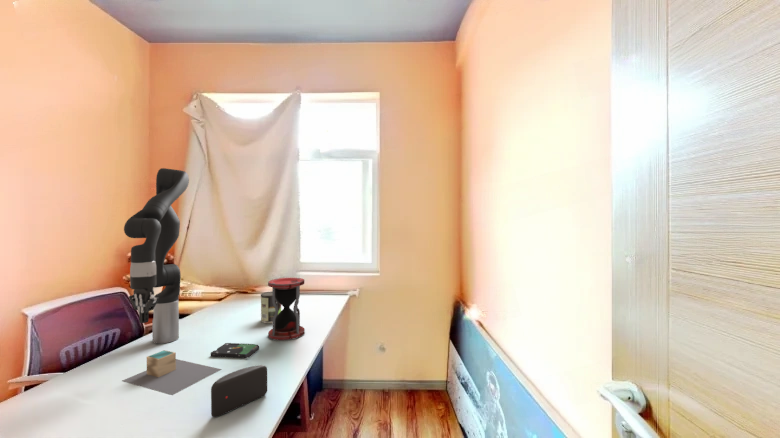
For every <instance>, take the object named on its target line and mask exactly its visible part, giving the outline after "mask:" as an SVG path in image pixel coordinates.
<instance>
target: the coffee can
mask: <svg viewBox="0 0 780 438" xmlns="http://www.w3.org/2000/svg"><path fill="white" fill-rule="evenodd" d="M275 303H276V305H277V302H276V299H275ZM281 311H282V305H281V304H280V309H279V311H278V314H279V313H280V312H281ZM274 315H275V307H274V306H273V303H272V291H266V292H262V293H260V321H261V323H263V324H273V316H274Z"/></svg>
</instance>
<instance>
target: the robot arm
mask: <svg viewBox="0 0 780 438" xmlns="http://www.w3.org/2000/svg"><path fill="white" fill-rule="evenodd" d="M189 182H190V178H189V174H188V172H186V171H185V170H180V169H175V168H174V169H173V168H172V169H171V168H165V167H162V168H159V170H157V174H156V178H155V184H156V185H155V191H156V192H155V195H154V196H152V197H151V198H149V199H148V200H147V202H146V204H145V205H144V206H143V207H142V209H141V210H139V211H137V212H136V213H134V214H133V215H132V216H130V217H129V218H128V220H126V222H125V223H124V226H123V232H124V234H125V236H127V237H128V238H131V239H145V240H144V243H142V244H137V245H133V246H131V248H130V268H129V271H130V272H129V274H130V275H129V276H130V277H129V279H130V280H129V281H130V283H129V284H130V289H131V290H133V294H131V295H129V296H128V299H129V302H130V303H131V306H132V307H133V310H134V311H137V312H138V317H139V319H138V321H139V323H140V324H146V323H148V322H149V319H150V318H149V317H150V316H149V313H150V311H153V318H152V326H151V327H152V341H153V343H154V344H167V343H172V342H174V341H177V340H178V339H179V338H180V336H179V334H180V332H179V331H180V323H179V322H180V321H179V319H180V318H179V317H180V310H179V309H180V308H179V296H180V292H181V276H182V275H181V270H180V267H179V266H178V265H177V264H175V263H170V264H169V263H168V264H165V259H166V256H167V255H168V253H169V252H170V250H171V249H172V247H173V246H174V245H175V243H176V242H177V241H178V238H179V236H180V231H181V230H180V227H181V220H180V217H179V216H178V214H177V213H176V210H175V209H174V208H173V207H172V204H173V203H175V202H176V201H177V200H178V199H179V198H180V197H181V196H182V195H183V194H184V192H185V191H186V190H187V188H188V187H189ZM162 287H164V289H162V290H161V291H160V292H158V293H156V294H155V291H154V289H155V288H162Z"/></svg>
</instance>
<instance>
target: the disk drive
mask: <svg viewBox="0 0 780 438" xmlns="http://www.w3.org/2000/svg"><path fill="white" fill-rule="evenodd" d="M259 350H260V345H259V344H258V343H237V342H225V343H224V344H221V345H220V346H218V347H217V348H216V350H212V351H211V352H210V358H211V357H212V358H228V359H229V358H230V359H231V358H232V359H245V361H247V360H248V358H251V357H252V356H254V355H255V354H256V353H257V352H258V351H259Z"/></svg>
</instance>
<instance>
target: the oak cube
mask: <svg viewBox="0 0 780 438" xmlns="http://www.w3.org/2000/svg"><path fill="white" fill-rule="evenodd" d="M176 354H177V353H176V352H174V351H169V350H161V351H158V352H155V353H153V354H150V355H147V356H146V370H147V374H148V375H152V376H156V377H160V376H163V375H165V374H167V373H169V372H171V371H174V370H176V359H177V358H176V357H177V355H176Z"/></svg>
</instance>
